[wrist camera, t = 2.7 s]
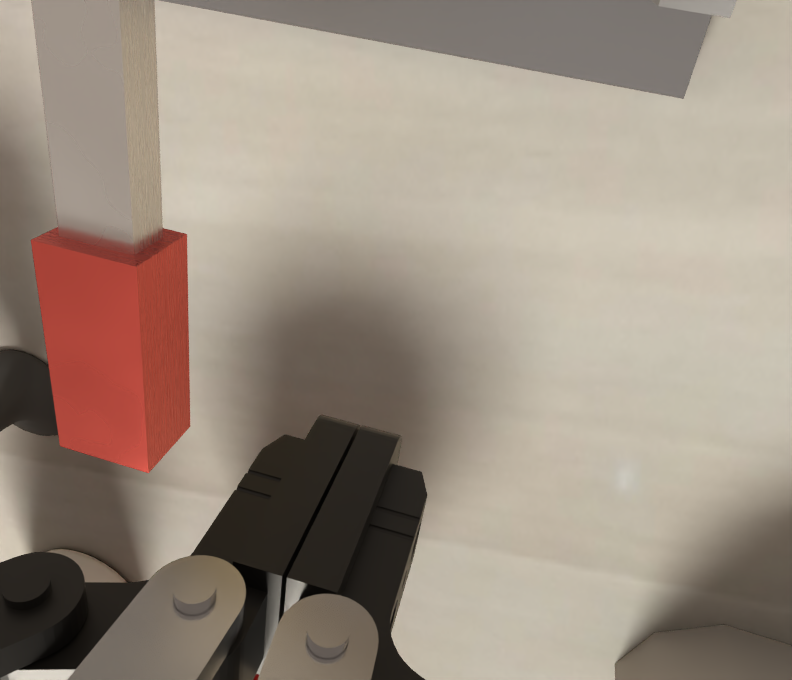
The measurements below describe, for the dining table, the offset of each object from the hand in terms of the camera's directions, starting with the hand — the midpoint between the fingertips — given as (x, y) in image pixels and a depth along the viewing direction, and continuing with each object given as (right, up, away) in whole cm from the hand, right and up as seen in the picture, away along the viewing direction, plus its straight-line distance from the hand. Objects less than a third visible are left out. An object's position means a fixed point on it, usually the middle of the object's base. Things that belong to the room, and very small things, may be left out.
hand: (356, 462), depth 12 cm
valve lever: (-4, +6, +1) cm, 8 cm away
